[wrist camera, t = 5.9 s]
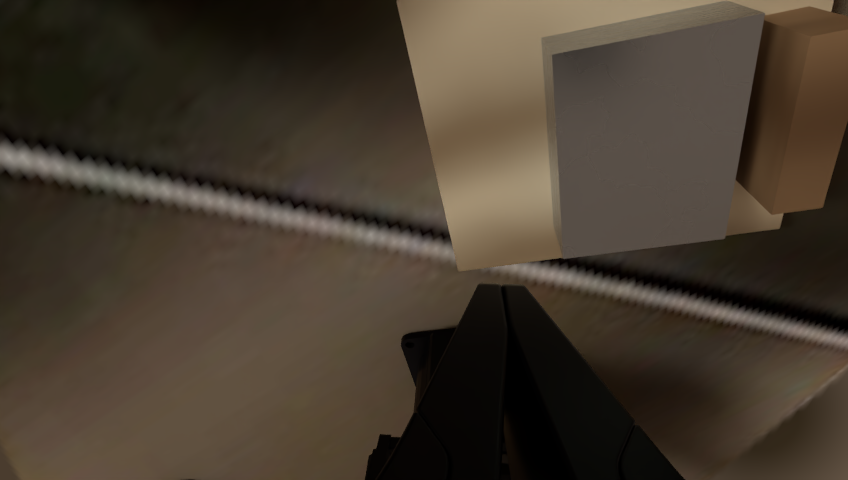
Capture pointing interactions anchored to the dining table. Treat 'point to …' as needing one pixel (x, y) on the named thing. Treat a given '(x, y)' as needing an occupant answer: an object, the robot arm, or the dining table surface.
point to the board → (527, 126)
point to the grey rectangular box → (648, 127)
